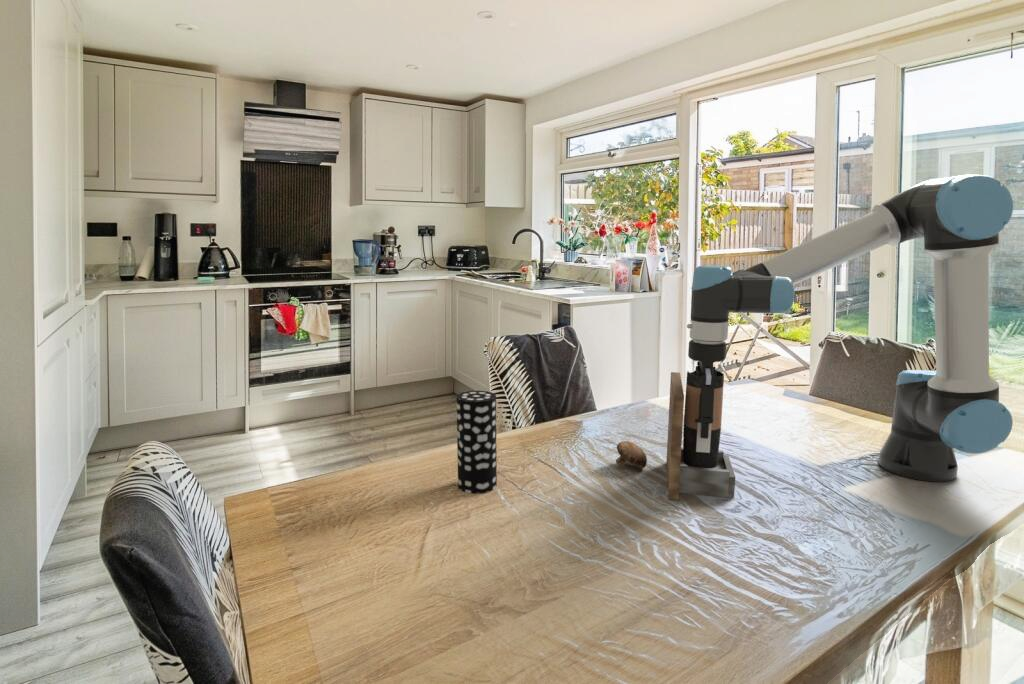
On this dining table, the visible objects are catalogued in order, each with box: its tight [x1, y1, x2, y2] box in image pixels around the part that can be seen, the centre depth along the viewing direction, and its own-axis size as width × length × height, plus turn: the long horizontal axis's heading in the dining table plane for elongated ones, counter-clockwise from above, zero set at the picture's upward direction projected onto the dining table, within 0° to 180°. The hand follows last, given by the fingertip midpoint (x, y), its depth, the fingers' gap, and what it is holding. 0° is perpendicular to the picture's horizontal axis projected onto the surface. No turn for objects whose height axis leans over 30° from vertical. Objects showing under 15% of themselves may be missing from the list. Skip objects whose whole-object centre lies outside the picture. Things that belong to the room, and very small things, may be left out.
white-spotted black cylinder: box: [456, 390, 498, 495], centre depth 131 cm, size 8×8×20 cm
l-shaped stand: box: [665, 371, 736, 501], centre depth 132 cm, size 13×20×22 cm, turn 167°
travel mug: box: [682, 369, 725, 468], centre depth 131 cm, size 8×8×20 cm
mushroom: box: [615, 440, 648, 469], centre depth 142 cm, size 8×8×6 cm
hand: (701, 444), depth 132 cm, fingers closed on travel mug, 8 cm apart
